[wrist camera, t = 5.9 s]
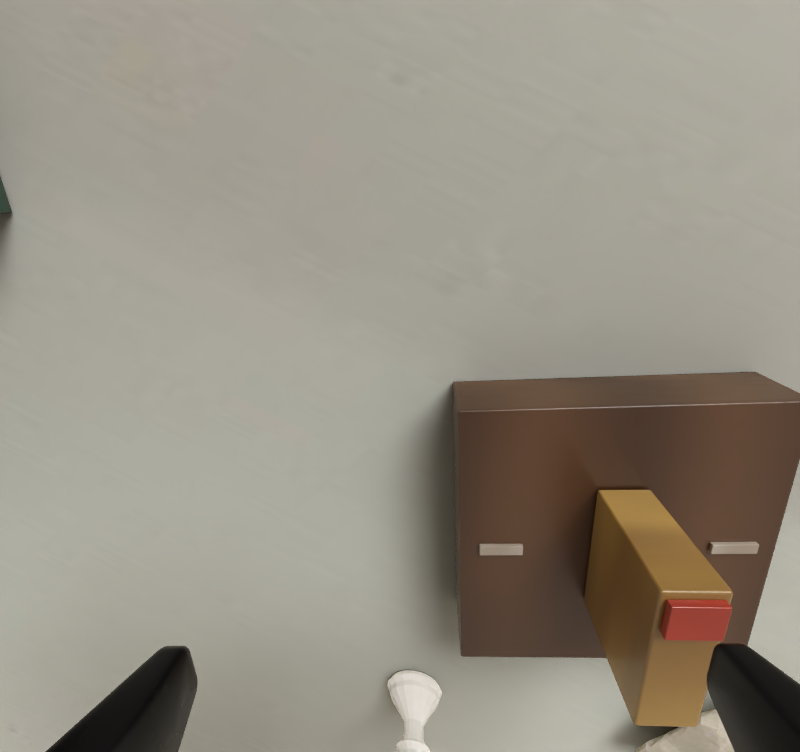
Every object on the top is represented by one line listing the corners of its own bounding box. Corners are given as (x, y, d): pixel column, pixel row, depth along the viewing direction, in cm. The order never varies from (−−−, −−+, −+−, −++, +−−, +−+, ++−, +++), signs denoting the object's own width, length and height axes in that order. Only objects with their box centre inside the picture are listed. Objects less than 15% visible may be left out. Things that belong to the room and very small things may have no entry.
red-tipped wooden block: (631, 601, 15) (703, 738, 11) (582, 601, 15) (638, 737, 11) (650, 488, 14) (742, 601, 10) (596, 488, 14) (666, 600, 10)
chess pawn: (449, 680, 21) (454, 784, 17) (431, 707, 21) (432, 813, 17) (397, 661, 20) (390, 763, 17) (380, 689, 21) (370, 793, 17)
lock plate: (456, 602, 19) (461, 661, 16) (452, 381, 16) (458, 413, 13) (703, 602, 18) (747, 664, 16) (755, 371, 15) (822, 402, 12)
